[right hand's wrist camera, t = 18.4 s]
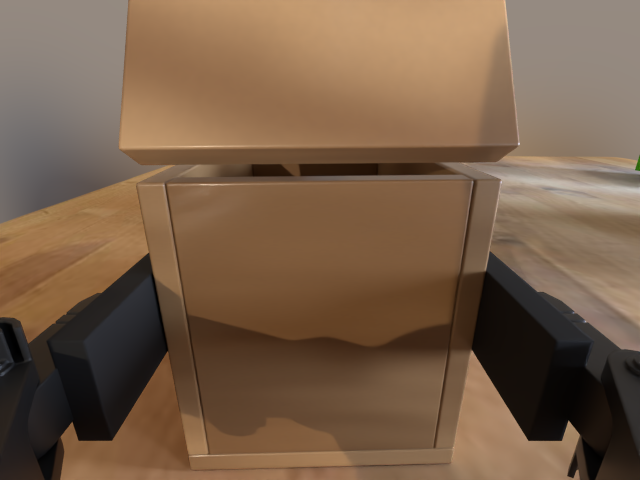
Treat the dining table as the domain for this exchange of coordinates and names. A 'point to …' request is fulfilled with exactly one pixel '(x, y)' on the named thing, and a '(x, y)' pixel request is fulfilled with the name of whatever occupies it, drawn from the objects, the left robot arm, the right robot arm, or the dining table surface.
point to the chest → (319, 307)
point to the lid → (317, 82)
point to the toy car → (638, 165)
